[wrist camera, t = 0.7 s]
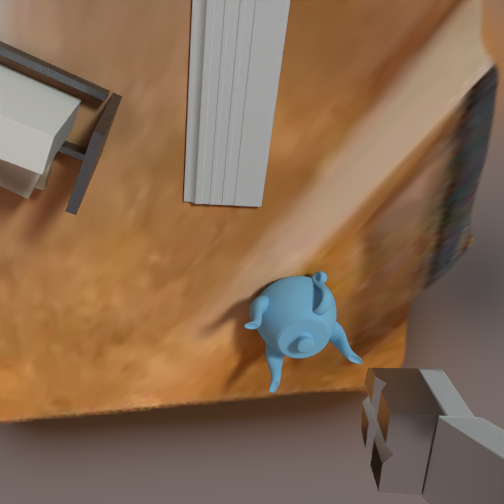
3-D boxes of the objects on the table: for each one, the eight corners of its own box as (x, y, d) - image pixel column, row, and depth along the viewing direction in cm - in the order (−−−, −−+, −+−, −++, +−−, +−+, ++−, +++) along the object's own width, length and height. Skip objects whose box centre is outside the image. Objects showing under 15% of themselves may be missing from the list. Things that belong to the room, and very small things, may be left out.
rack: (-54, 16, 47) (-139, 34, 34) (122, 96, 53) (104, 136, 41) (-67, 94, 51) (-149, 136, 38) (98, 160, 57) (75, 215, 44)
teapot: (327, 253, 69) (348, 293, 61) (343, 324, 77) (364, 368, 69) (235, 282, 70) (243, 326, 61) (261, 349, 78) (271, 396, 69)
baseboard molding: (172, 197, 62) (259, 201, 64) (172, 207, 59) (262, 211, 61) (181, -84, 46) (296, -66, 48) (181, -87, 43) (302, -68, 46)
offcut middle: (-38, 123, 51) (-45, 128, 50) (54, 154, 54) (51, 160, 53) (-43, 155, 53) (-50, 161, 51) (47, 183, 56) (43, 190, 55)
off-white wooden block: (-31, 50, 49) (-98, 75, 37) (81, 99, 53) (53, 136, 41) (-38, 85, 51) (-105, 120, 39) (71, 130, 55) (42, 174, 43)
